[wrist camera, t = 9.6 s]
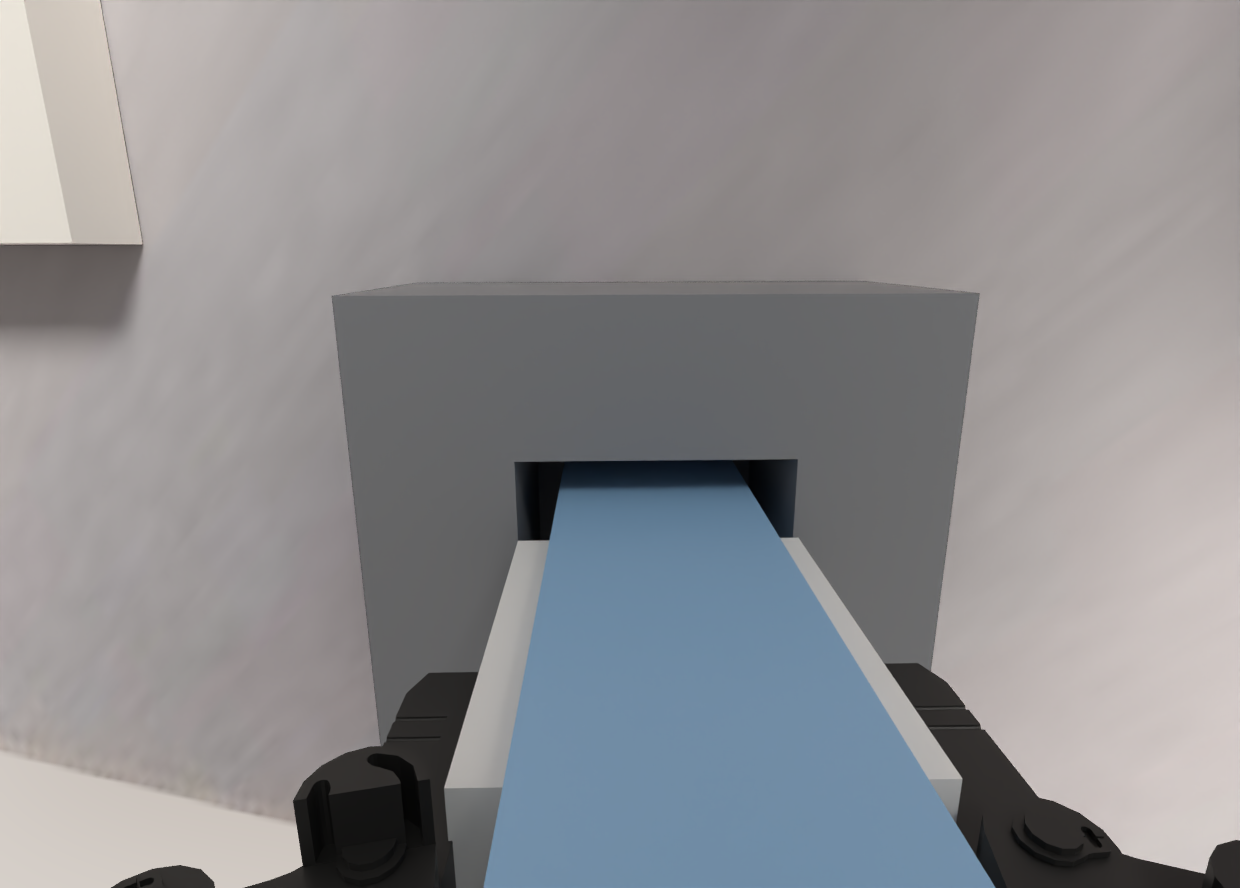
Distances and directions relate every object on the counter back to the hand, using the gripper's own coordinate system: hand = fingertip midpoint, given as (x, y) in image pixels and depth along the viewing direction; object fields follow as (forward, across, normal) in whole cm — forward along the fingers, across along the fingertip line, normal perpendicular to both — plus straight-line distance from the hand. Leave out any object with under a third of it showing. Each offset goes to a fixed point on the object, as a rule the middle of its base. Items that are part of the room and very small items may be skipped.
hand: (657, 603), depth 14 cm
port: (+7, 0, 0) cm, 7 cm away
